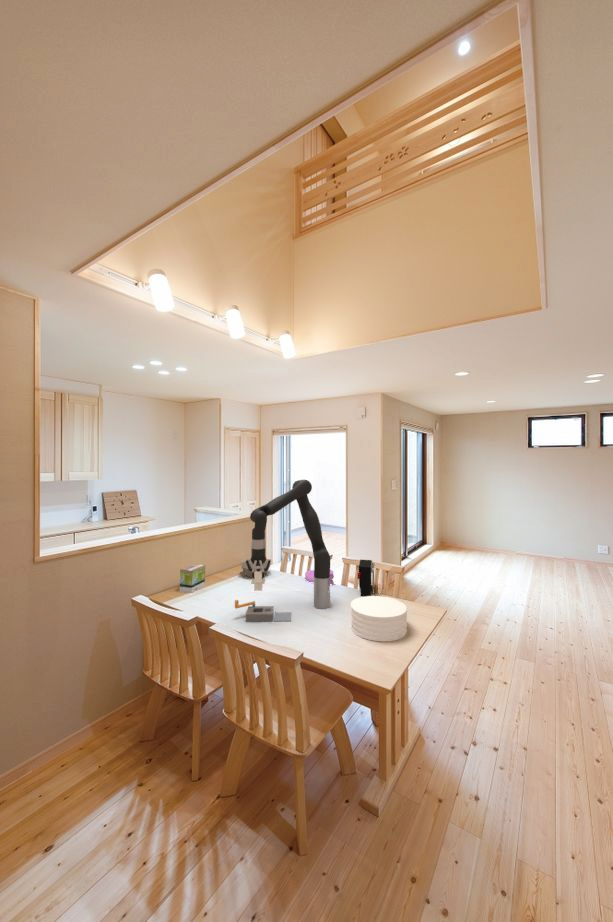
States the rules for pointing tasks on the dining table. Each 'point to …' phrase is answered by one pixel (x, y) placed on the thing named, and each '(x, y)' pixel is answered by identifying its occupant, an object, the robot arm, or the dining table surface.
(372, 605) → the plate stack
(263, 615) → the grey rectangular tray
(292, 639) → the dining table surface
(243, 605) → the clip
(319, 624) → the dining table surface
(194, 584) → the tea box
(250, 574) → the ceramic bowl
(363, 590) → the electrical component
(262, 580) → the plug
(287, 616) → the mat
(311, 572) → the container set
